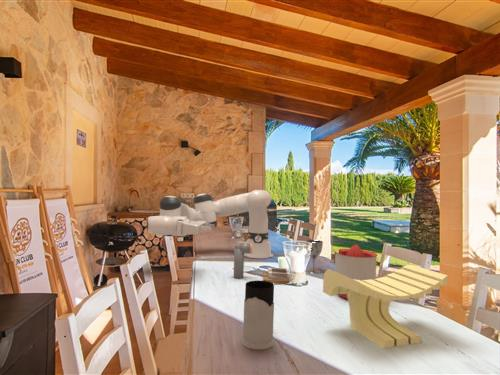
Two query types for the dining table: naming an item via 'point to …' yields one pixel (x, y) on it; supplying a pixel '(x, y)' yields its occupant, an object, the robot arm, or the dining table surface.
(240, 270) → the pipe elbow
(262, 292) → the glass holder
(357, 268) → the citrus juicer
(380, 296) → the slatted curved stool
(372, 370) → the dining table surface
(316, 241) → the wine glass
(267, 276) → the collar plate
